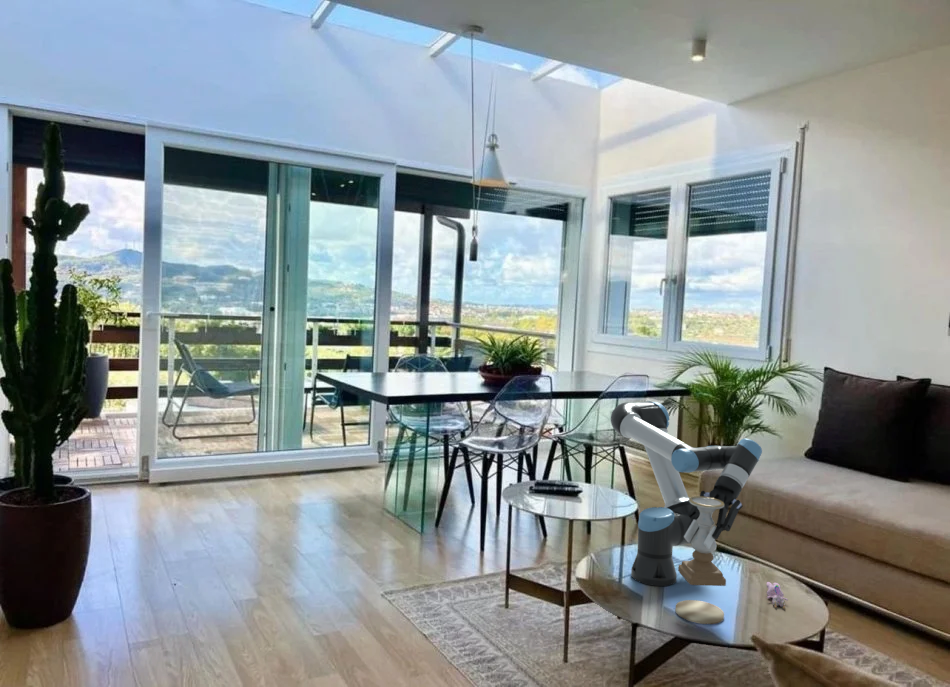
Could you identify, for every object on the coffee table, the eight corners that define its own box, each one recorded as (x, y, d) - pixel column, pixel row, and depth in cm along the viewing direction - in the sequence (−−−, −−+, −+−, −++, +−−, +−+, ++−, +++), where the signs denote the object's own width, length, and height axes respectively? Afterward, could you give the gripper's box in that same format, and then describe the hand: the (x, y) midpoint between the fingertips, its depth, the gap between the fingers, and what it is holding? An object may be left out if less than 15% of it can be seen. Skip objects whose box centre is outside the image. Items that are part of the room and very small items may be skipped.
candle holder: (711, 571, 211) (717, 496, 209) (726, 586, 200) (732, 506, 198) (677, 570, 210) (682, 494, 209) (690, 585, 200) (695, 505, 198)
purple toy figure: (790, 614, 211) (781, 588, 225) (791, 597, 209) (782, 572, 224) (768, 611, 212) (761, 586, 226) (770, 594, 211) (762, 569, 225)
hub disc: (666, 612, 206) (667, 609, 206) (688, 599, 216) (688, 596, 216) (711, 628, 196) (711, 624, 196) (731, 614, 206) (731, 610, 206)
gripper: (763, 496, 205) (729, 559, 196) (709, 482, 221) (675, 540, 212) (754, 481, 202) (719, 545, 193) (699, 468, 217) (664, 526, 209)
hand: (696, 542), depth 202 cm, fingers closed on candle holder, 6 cm apart
